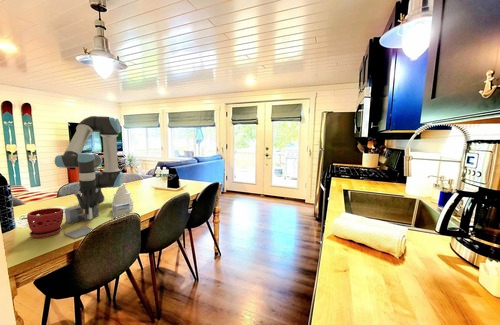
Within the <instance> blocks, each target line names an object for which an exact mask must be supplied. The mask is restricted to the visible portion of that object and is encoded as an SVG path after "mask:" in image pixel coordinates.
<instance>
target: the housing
mask: <svg viewBox="0 0 500 325" xmlns="http://www.w3.org/2000/svg"><path fill="white" fill-rule="evenodd" d="M93 209H94V212H93V213H92V217H93V218H96V217H99V203H97V206H94V208H93ZM79 210H83V211H84V209H83V208H81V207H80V204H79V205H77V206H76V205H75V206H71V207H67V208H64V216H65V223H67V224H70V225H72V224H74V223H79V222H80V220H79V219H78V211H79Z"/></svg>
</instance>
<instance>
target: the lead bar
mask: <svg viewBox="0 0 500 325" xmlns="http://www.w3.org/2000/svg"><path fill="white" fill-rule="evenodd" d="M78 219H79V221H82V222H89V221H92V220H93V219H87V214H85V211H83V212H82V213H78Z"/></svg>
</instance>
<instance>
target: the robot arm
mask: <svg viewBox="0 0 500 325" xmlns="http://www.w3.org/2000/svg"><path fill="white" fill-rule="evenodd" d="M75 130H76V131H75V133H74V134H73V136H72V139H71V140H70V142H69V144H68V145H67V148H66V149H65V151H64V153H63V154H59V155H56V156H55V158H54V164H55V166H56V168H59V169H60V168H62V169H64V168H65V169H67V168H78V179H79V183H78V184H79V189H78V191H77V192H75V193H74V194H73V195H74V196H75V197H76V199H77V202H78V203H79V205H80V207H81V208H83V210H84V213H85V214H87V219H92V220H93V218H94V217H92V213H93V212H94V209H93V208H94V206H97V203H98V204H99V203H103V202H104V201H105V196H104V194H103V191H102V189H107V188H119V187H120V186H123V183H124V182H123V181H124V173H123V172H122V171H121V169H120V168H119V163H118V159H119V158H118V144H117V142H118V141H117V137H119V134H120V133H121V132H122V126H121V123H120V120H119V119H118V118H117V117H114V116H104V115H103V116H101V115H100V116H97V115H91V116H90V115H89V116H88V117H85V118H84V119H82V120H81V121H79V123H78V124H77V126H76V127H75ZM94 133H99V135H100V136H101V137H102V146H103V147H102V148H103V158H102V157H101V156H100V155H99V154H94V152H83V150H84V148H85V146H86V144H87V142H88V139H89V137H90V136H92V134H94ZM103 161H104V162H103ZM103 163H104V164H103ZM102 164H103V165H104V169H103V170H102V172H101V171H100V170H96V169H95V168H97V167H100V166H101V165H102Z"/></svg>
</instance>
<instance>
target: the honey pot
mask: <svg viewBox="0 0 500 325" xmlns="http://www.w3.org/2000/svg"><path fill="white" fill-rule="evenodd" d="M127 185H128V184H127V182H122V185H121V186H120V187H117V190H116V192H114V193H113V198H112V201H111V212H112V213H113V206H114V205H118V204H122V203H129V205H130V211H132V210H134V200H133V198H132V196H131V193H132V192H131V191H130V190H128V188H127V187H126V186H127Z"/></svg>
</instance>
